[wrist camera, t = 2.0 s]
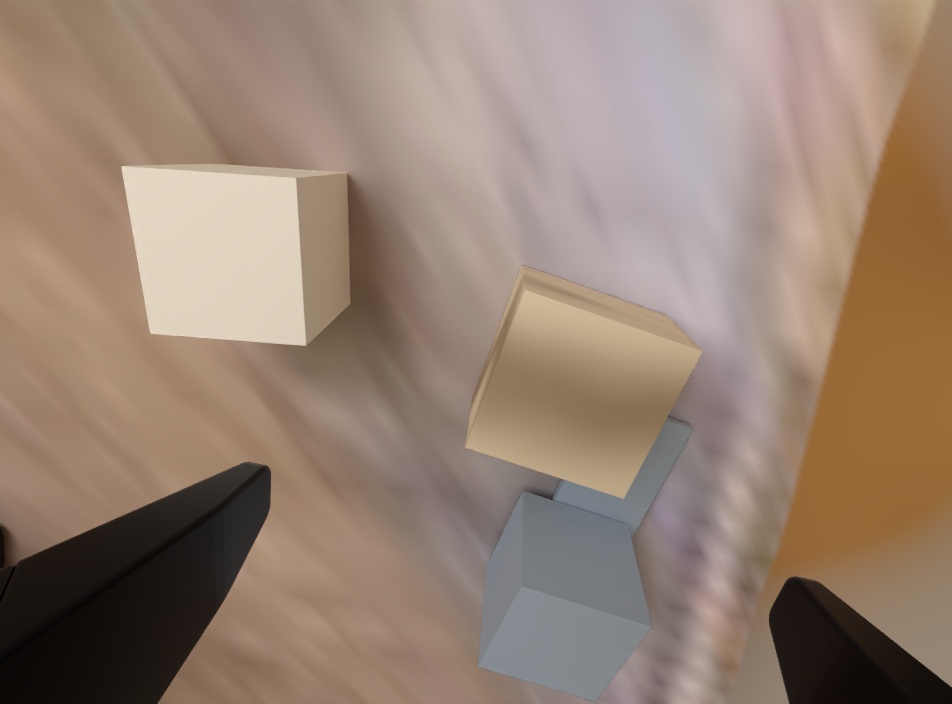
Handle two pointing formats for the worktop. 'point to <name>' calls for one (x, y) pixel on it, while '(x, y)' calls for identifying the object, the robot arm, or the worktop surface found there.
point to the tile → (640, 489)
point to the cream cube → (240, 250)
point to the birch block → (578, 383)
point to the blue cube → (562, 599)
